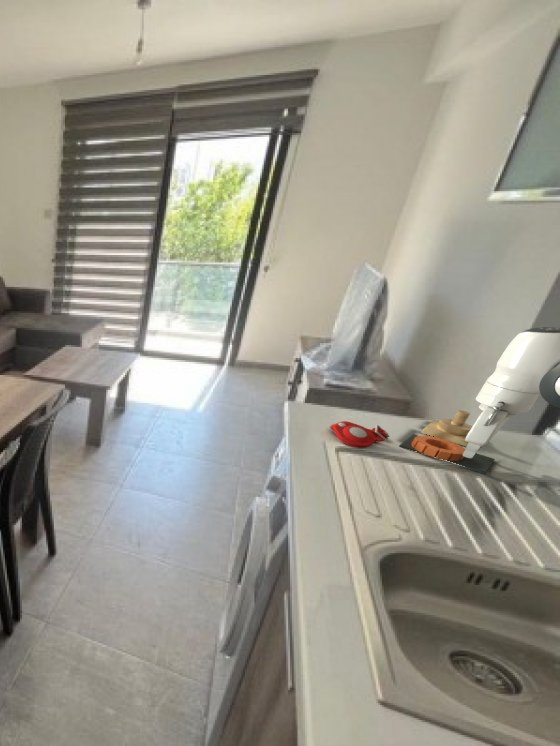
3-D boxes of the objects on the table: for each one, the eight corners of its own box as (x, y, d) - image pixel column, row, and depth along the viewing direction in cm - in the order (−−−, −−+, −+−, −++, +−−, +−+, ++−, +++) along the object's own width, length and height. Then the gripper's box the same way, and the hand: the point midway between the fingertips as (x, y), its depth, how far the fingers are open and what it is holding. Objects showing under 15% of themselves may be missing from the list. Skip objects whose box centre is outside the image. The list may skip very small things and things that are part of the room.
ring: (468, 455, 118) (472, 448, 117) (453, 464, 113) (458, 457, 112) (420, 439, 125) (424, 432, 124) (404, 447, 120) (408, 440, 119)
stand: (478, 438, 128) (493, 414, 125) (470, 448, 123) (486, 423, 119) (431, 424, 135) (444, 401, 132) (421, 433, 129) (434, 409, 126)
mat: (494, 460, 117) (495, 458, 117) (484, 474, 110) (485, 472, 110) (412, 435, 128) (413, 433, 128) (398, 446, 121) (399, 445, 121)
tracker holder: (362, 447, 117) (326, 422, 124) (352, 459, 120) (318, 434, 127) (398, 432, 120) (361, 408, 126) (388, 444, 123) (353, 420, 129)
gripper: (517, 412, 101) (480, 469, 108) (532, 394, 112) (497, 446, 119) (477, 402, 105) (443, 457, 112) (495, 385, 116) (464, 436, 123)
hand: (471, 451), depth 115 cm, fingers open, 8 cm apart
